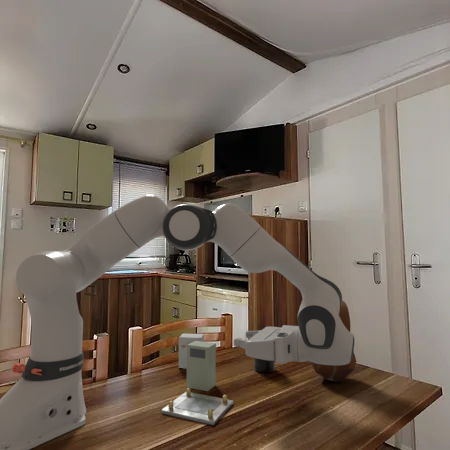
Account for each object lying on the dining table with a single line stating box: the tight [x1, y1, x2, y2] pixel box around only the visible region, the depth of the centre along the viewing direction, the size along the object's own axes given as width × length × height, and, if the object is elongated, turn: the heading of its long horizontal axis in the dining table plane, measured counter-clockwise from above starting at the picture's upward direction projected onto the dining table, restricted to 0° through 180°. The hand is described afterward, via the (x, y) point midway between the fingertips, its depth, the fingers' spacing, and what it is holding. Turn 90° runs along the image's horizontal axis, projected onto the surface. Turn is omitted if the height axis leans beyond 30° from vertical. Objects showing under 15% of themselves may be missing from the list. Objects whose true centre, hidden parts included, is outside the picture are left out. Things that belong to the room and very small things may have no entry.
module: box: [186, 341, 217, 392], centre depth 98 cm, size 5×7×12 cm
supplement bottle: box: [253, 358, 276, 374], centre depth 112 cm, size 7×7×12 cm
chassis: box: [160, 387, 234, 426], centre depth 83 cm, size 12×14×2 cm
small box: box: [178, 333, 205, 370], centre depth 115 cm, size 8×6×10 cm
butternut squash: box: [310, 299, 357, 383], centre depth 104 cm, size 14×13×25 cm
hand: (240, 337), depth 94 cm, fingers open, 8 cm apart
